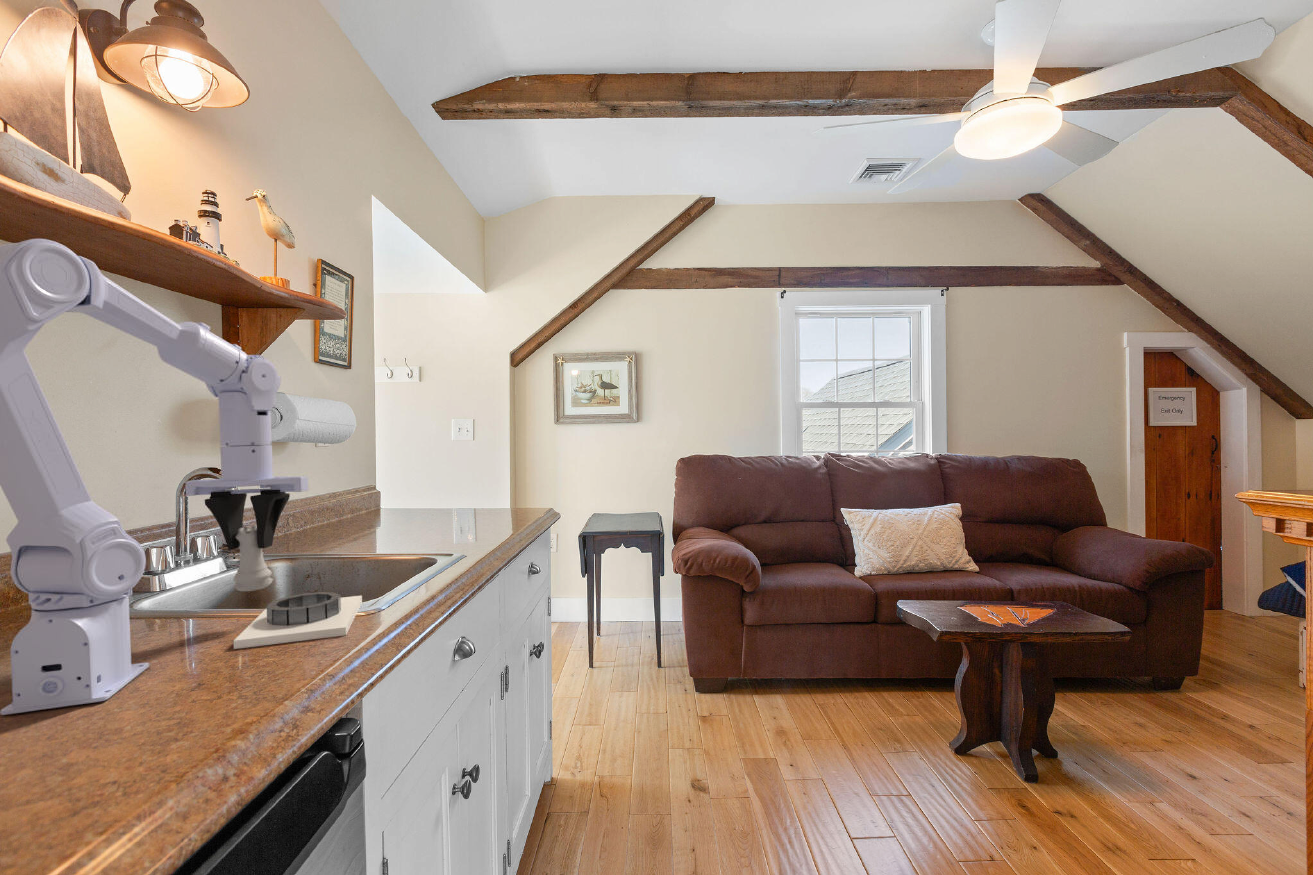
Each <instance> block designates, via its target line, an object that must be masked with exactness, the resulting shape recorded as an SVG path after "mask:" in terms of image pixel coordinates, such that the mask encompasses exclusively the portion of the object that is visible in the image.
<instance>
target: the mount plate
mask: <svg viewBox="0 0 1313 875" xmlns="http://www.w3.org/2000/svg"><path fill="white" fill-rule="evenodd" d="M362 604H363V595H351V596H346V597H344V596H343V597H342V596H341V611H340V612H339V614H337V615H335V616H332V617H330V618H328V619H325V620H320V621H316V622H312V623H307V624H299V625H291V626H289V625H288V626H280V625H271V624H270V623H268V622H267V608H265V609H264V610H263V611H262V612H261V613H260V614H259V615H258V616H257V617H256V618H255V619H254V620H253V621H252V622H251V623H250V624H249V625H248V626H246V628H245V629H244V630H243V631H241V633H240V634H238V636H237V637H235V639H234V640H233V650H236V649H238V650H239V649H245V648H254V647H261V646H262V647H263V646H269V645H276V644H277V645H278V644H279V645H280V644H286V643H294V642H301V641H309V640H310V641H311V640H317V639H327V638H335V637H341V636H347V634H348V632H349V630H350V628H351V626H352V623H353V621H354V620H355V618H356V616H357V614H356V613H358V612H359V609H360V607H361V605H362ZM357 611H358V612H357Z"/></svg>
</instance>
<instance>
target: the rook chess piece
mask: <svg viewBox="0 0 1313 875" xmlns="http://www.w3.org/2000/svg"><path fill="white" fill-rule="evenodd" d="M235 538H236V539H237V540H238V541H239V542H240V546H239V547H238V548H237V549H238V550H239V554H240V555H239V556H240V558H239V567H238V569H237V570H236V572H237V573H236V574H235V575H234V577H233V581H234V582H235V583H234V584H233V587H234V589H236V590H237V591H239V592H254V591H259V590H261V589H262V590H263V589H265V588H268V587H270V585H272V584H273V581H274V578H272V577H271V576H272V574H273V572H272V570H271V569H269V568H268V565H267V563H266V562H265V558H264V555H263V554H264V553H263V548H260V549H259V548H258V543H257V525H252V527H251V528H250V527H249V526H243V528H239V530H238V534H237V535H236V537H235Z"/></svg>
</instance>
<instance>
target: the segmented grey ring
mask: <svg viewBox="0 0 1313 875" xmlns="http://www.w3.org/2000/svg"><path fill="white" fill-rule="evenodd" d="M341 598H342V596H341V594H339V593H336V592H333V591H331V592H329V591H327V592H326V591H321V592H320V591H318V592H316V591H315V592H308V593H306V592H305V593H299V594H294V595H290V596H285V597H282V598H279V599H276V600H274V601H271V602H269V603H268V604H267V605H266V606H265V607H266V608H267V622H268V623H270V624H271V625H280V626H288V625H289V626H291V625H299V624H307V623H312V622H316V621H320V620H325V619H328V618H330V617H332V616H335V615H337V614H339V612H340V611H341ZM266 608H265V609H266Z"/></svg>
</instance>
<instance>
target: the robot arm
mask: <svg viewBox="0 0 1313 875" xmlns="http://www.w3.org/2000/svg"><path fill="white" fill-rule="evenodd" d="M64 313H79V314H80V313H81V314H83V315H84V314H85V315H87V316H89V317H91V318H93V319H96V320H98V321H100V322H102V323H104V324H107V325H108V326H110V327H113V328H115V329H117V330H119V331H121V332H124V333H126V334H128V335H130V336H133V337H134V338H136V339H139V340H141V341H142V342H143V341H144V342H146V343H148V344H149V345H150V344H151V345H152V346H153V347H156V349H157V353H158V356H159V358H160V359H161V361H162V362H163V363H166V364H167V365H168V366H169V365H170V366H171V367H173V368H176V369H178V370H179V371H182V372H183V373H185V374H187V375H189V376H191V377H193V378H195V379H197V380H199V381H201V382H203V383H204V384H205V385H206V387H207V389H208V391H209V392H210V394H211V395H213V397H215V398H218V399H217V400H218V422H219V424H218V425H219V442H220V443H219V444H220V446H219V447H220V448H219V450H220V466H221V467H220V471H221V472H220V474H221V478H219V479H218V478H214V479H213V478H212V479H195V480H186V481H185V496H186V497H192V496H203V495H210V496H209V498H206V499H204V505H205V507H207V509H208V511H210V512H211V514H212V515H213V517H214V518H215V520H216V522H217V524H218V526H219V528H220V530H221V532H222V535H223V538H224V540H225V543H226V547H227V550H229V551H231V550H236V549H238V547H239V546H240V542H239V541H238V540H237V539H236V538H235V537H236V535H237V534H238V530H239V528H243V529H244V522H243V520H244V512H245V504H246V501H247V500H246V499H247V496H248V494H256V495H251V496H249V499H250V502H251V506H252V508H253V512H254V516H255V522H256V526H257V543H258V548H259V549H260V548H262V549H267V548H269V547H272V546H273V542H274V536H275V534H276V533H275V532H276V528H277V525H278V522H279V520H280V517H281V515H282V512H283V510H284V508H285V506H286V505H287V503H288V501H289V500H290V495H291V494H290V493H291V492H292V493H293V492H294V493H301V492H308V491H309V476H274V467H273V441H272V439H273V438H272V413H271V412H272V410H273V409H274V408H273V407H275V396H276V394H277V393H278V391H279V390H280V388H281V381H282V380H281V379H282V377H281V376H279V375H278V371H277V368H276V366H275V365H274V364H273V363H272V362H271V361H270V360H268V359H267V358H266V357H264V356H262V355H260V354H247V353H246V352H245V351H243V350H242V347H241V346H239V345H238V344H236V343H233V344H232V343H230V342H228V341H226V339H223V338H221V337H220V336H218V335H216V334H214V333H213V332H211V331H210V330H211V327H210V326H209V325H207V324H206V323H204V322H201V321H200V322H194V321H181V322H178V323H176V322H175V321H173V320H172V319H171V318H169V317H167V315H164V314H162V313H161V312H160V311H158V310H157V309H155V308H154V307H152V306H151V305H150V304H148V303H146V302H144V301H143V300H141V299H140V298H139V297H137V296H135V295H134V294H132V293H131V292H129V291H128V290H126V289H125V288H123V287H122V286H120V285H119V284H117V283H116V282H114V281H112V280H111V279H109V278H108V277H106V275H104V274H102V272H101V270H100V269H99V267H98V266H97V265H96V263H95V262H94V261H92V260H91V259H88V258H86V257H83V256H81V255H77V254H76V253H75V251H73V250H71V249H70V248H68V247H67V246H66V245H63V244H61V243H59V242H57V241H54V240H50V239H47V238H31V239H26V240H23V241H22V240H21V241H20V242H14V243H7V244H0V487H1V488H0V489H1V490H2V491H3V494H4V496H5V498H6V499H7V502H8V504H9V505H10V508H11V510H12V511H13V514H14V515H15V517H16V519H17V523H16V525H15V526H14V527H13V528H12V530H11V531H10V533H8V535H7V537H6V539H5V540H6V543H7V545H8V546H9V548H10V549H9V550H10V551H11V564H10V576H11V580H12V582H13V583H14V585H15V586H16V587H17V589H19V590H20V591H22V592H24V593H26V594H28V605H30V608H31V614H30V615H31V617H30V620H29V621H28V623H27V624H26V625H25V626H24V627H23V628H21V629H20V631H18V633H17V634H16V635H15V637H14V639H13V640H12V643H11V645H10V646H11V647H10V671H11V693H12V702H11V703H10V704H8V705H6V706H5V707H3V708H2V709H0V715H1V716H5V715H6V716H7V715H13V714H20V713H29V712H35V711H41V710H47V709H48V710H49V709H56V708H63V707H69V706H77V705H78V706H79V705H83V704H84V705H85V704H92V703H98V702H104V701H107V700H108V699H110V698H111V697H112V696H113V695H115V694H116V693H117V692H119V691H120V690H121V689H123V688H124V687H125V686H126V685H127V684H129V683H130V682H131V681H133V680H134V679H135V678H137V677H138V676H140V674H141V673H143V672H144V671H145V670H146V669H148V668H149V667H150V663H149V662H139V663H132V651H131V650H132V649H131V648H132V647H131V622H130V619H131V618H130V598H129V597H130V596H132V595H133V588H134V587H136V585H137V584H138V583H139V582H140V580H141V578H142V577H143V574H144V573H145V568H146V564H147V563H146V562H147V558H146V553H145V550H144V548H143V547H142V546H141V544H140V543H139V541H138V540H136V539H134V538H133V537H131V536H130V535H129V534H128V533H127V532H126V531H125V528H123V526H122V524H121V521H120V520H119V518H117V517H116V516H115V515H113V514H112V513H110V512H109V511H107V510H106V509H104V508H102V506H100V505H98V504H97V503H95V502H94V501H93V499H92V498H91V495H90V493H89V490H88V489H87V487H86V484H85V481H84V480H83V477H82V476H81V473H80V471H79V469H78V467H77V465H76V462H75V460H74V457H73V456H72V454H71V452H70V449H69V447H68V444H67V443H66V440H65V438H64V436H63V433H62V430H60V427H59V425H58V423H57V420H56V418H55V415H54V414H53V411H52V410H51V407H50V405H49V402H48V401H47V398H46V396H45V393H44V391H43V389H42V387H41V385H40V382H39V381H38V379H37V377H36V374H35V372H34V369H33V368H32V365H31V363H30V361H29V359H28V357H27V354H26V352H25V350H26V348H27V346H28V345H29V343H30V342H31V341H32V339H33V338H35V336H36V335H37V334H38V332H39V331H40V330H41V329H42V328H43V326H44V325H46V324H47V323H49V322H50V321H53V320H54V319H56V318H58V317H59V316H60V315H63V314H64ZM238 487H239V488H240V487H242V488H243V487H259V488H246V489H245V488H243V489H237V488H238Z"/></svg>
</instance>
